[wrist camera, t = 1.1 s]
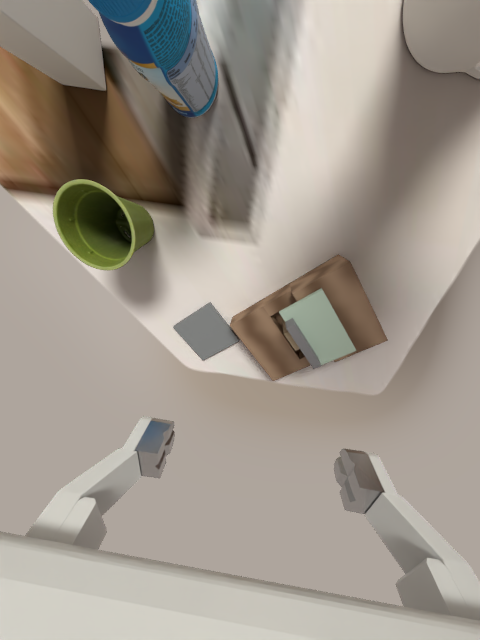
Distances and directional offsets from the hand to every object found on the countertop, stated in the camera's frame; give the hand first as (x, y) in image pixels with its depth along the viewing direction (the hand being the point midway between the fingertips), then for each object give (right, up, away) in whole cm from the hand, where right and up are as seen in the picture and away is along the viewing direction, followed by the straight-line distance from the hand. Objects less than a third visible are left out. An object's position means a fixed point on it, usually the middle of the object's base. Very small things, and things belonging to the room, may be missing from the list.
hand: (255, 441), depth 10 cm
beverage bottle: (-8, +40, +20) cm, 45 cm away
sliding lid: (+14, +4, +28) cm, 32 cm away
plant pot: (-20, +24, +30) cm, 43 cm away
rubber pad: (-8, +3, +39) cm, 40 cm away
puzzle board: (+12, +6, +35) cm, 37 cm away
